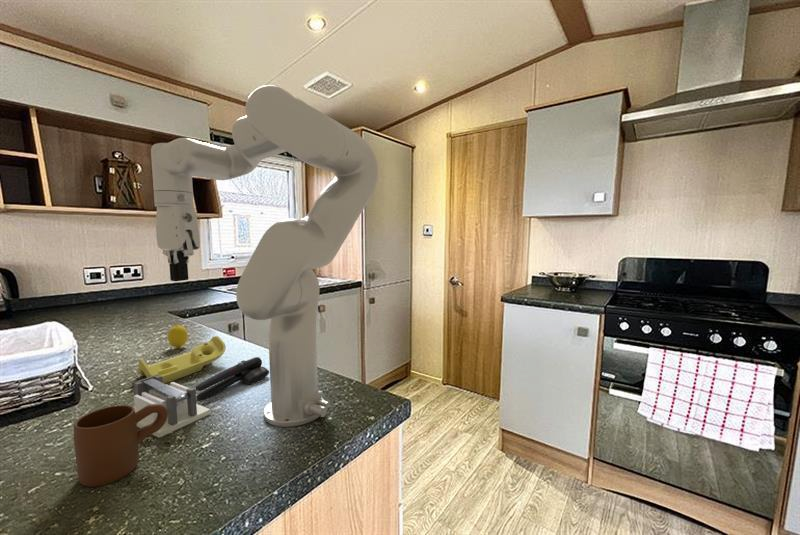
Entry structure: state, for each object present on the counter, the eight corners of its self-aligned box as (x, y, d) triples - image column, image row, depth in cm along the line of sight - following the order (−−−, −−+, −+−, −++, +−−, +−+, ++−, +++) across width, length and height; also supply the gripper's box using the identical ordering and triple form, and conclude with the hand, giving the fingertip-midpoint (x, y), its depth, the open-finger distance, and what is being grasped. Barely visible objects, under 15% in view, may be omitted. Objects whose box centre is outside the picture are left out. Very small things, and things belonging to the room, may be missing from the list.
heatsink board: (210, 413, 74) (208, 384, 73) (158, 437, 65) (156, 404, 64) (171, 397, 81) (169, 370, 81) (120, 417, 73) (118, 387, 72)
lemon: (171, 346, 118) (170, 323, 117) (190, 344, 120) (188, 322, 119) (166, 351, 113) (164, 327, 112) (185, 350, 114) (184, 326, 113)
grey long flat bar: (189, 398, 70) (189, 394, 70) (176, 404, 68) (176, 399, 68) (154, 380, 77) (154, 376, 77) (141, 385, 75) (141, 381, 75)
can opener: (256, 372, 96) (255, 352, 96) (272, 378, 93) (271, 357, 92) (188, 397, 82) (187, 374, 81) (203, 405, 78) (202, 381, 77)
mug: (166, 440, 64) (162, 391, 63) (175, 460, 59) (171, 406, 58) (77, 471, 56) (72, 415, 55) (78, 497, 51) (72, 435, 50)
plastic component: (153, 379, 86) (137, 355, 90) (153, 401, 89) (137, 376, 93) (232, 351, 102) (214, 332, 106) (229, 370, 104) (212, 350, 109)
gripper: (209, 200, 79) (214, 280, 81) (173, 203, 87) (178, 276, 88) (175, 197, 73) (180, 284, 75) (139, 201, 80) (145, 280, 82)
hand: (179, 280), depth 81 cm, fingers closed
